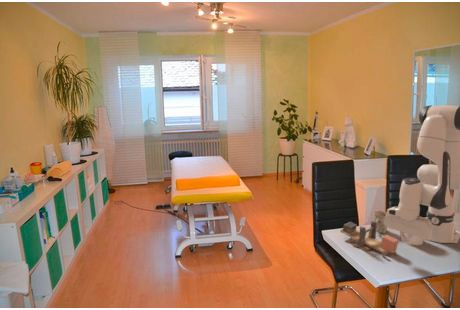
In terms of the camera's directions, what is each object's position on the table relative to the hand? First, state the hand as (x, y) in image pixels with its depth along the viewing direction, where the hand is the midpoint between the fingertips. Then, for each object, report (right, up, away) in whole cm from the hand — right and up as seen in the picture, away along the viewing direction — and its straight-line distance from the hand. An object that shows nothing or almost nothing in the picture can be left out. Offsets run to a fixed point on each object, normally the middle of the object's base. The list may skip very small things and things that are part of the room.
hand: (405, 241), depth 163 cm
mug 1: (+2, -3, +32) cm, 32 cm away
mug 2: (+15, -5, +20) cm, 25 cm away
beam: (-12, -4, +17) cm, 21 cm away
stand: (-9, -7, +13) cm, 17 cm away
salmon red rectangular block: (-4, -6, +8) cm, 11 cm away
